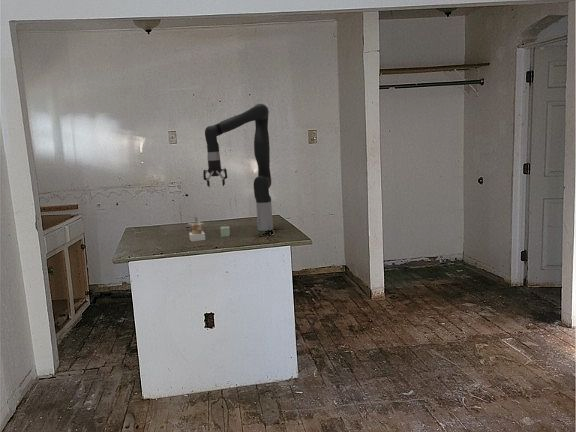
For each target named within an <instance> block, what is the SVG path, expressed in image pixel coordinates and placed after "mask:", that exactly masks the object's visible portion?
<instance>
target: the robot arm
mask: <svg viewBox="0 0 576 432" xmlns="http://www.w3.org/2000/svg"><path fill="white" fill-rule="evenodd" d="M269 113H270V112H269V108H268V106H267V105H266V104H264V103H257V104H255V105H254V106H252V107H251V108H249V109H247V110H245V111H243V112H242V113H239V114H237V115H233V116H231V117H228V118H226V119H224V120H222V121H220V122H217V123H216V124H212V125H208V126H206V127H205V130H204V138H205V142H206V150H207V154H206V155H207V166H208V167H207V168H208V169H203V180H204V181H206V185H207V186H206V187H208V188H209V187H211V185H210V183H211V182H210V179H211V177H220V178H221V179H222V180H221V182H222V187H225V185H226V183H225V182H226V181H225V180H226V179H228V171H227V168H222V165H221V163H222V162H221V153H220V145H219V142H218V137H220V136H221V135H224V134H225V133H227V132H228V133H229V132H231V131H233V130H235V129H237V128H239V127H241V126H243V125H246V124H248V123H250V122H253V121H254V123H255V125H254V126H255V131H254V132H255V133H254V140H253V151H254V158H255V160H256V164H257V177H255V179H254V180H253V193H254V199H255V203H256V204H255V206H256V219H257V230H258V231H259V232H266V231H267V232H268V230H269V231H273V230H274V220H273V209H272V208H273V207H272V197H271V195H270V190H269V189H270V187H271V185H272V175H271V168H270V161H271V160H270V159H271V158H270V155H271V153H270V136H269V129H268V127H269V115H270V114H269ZM222 172H223V173H224V176H223V174H222ZM207 173H208V174H209V175H208V177H207V176H206V175H207Z"/></svg>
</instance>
